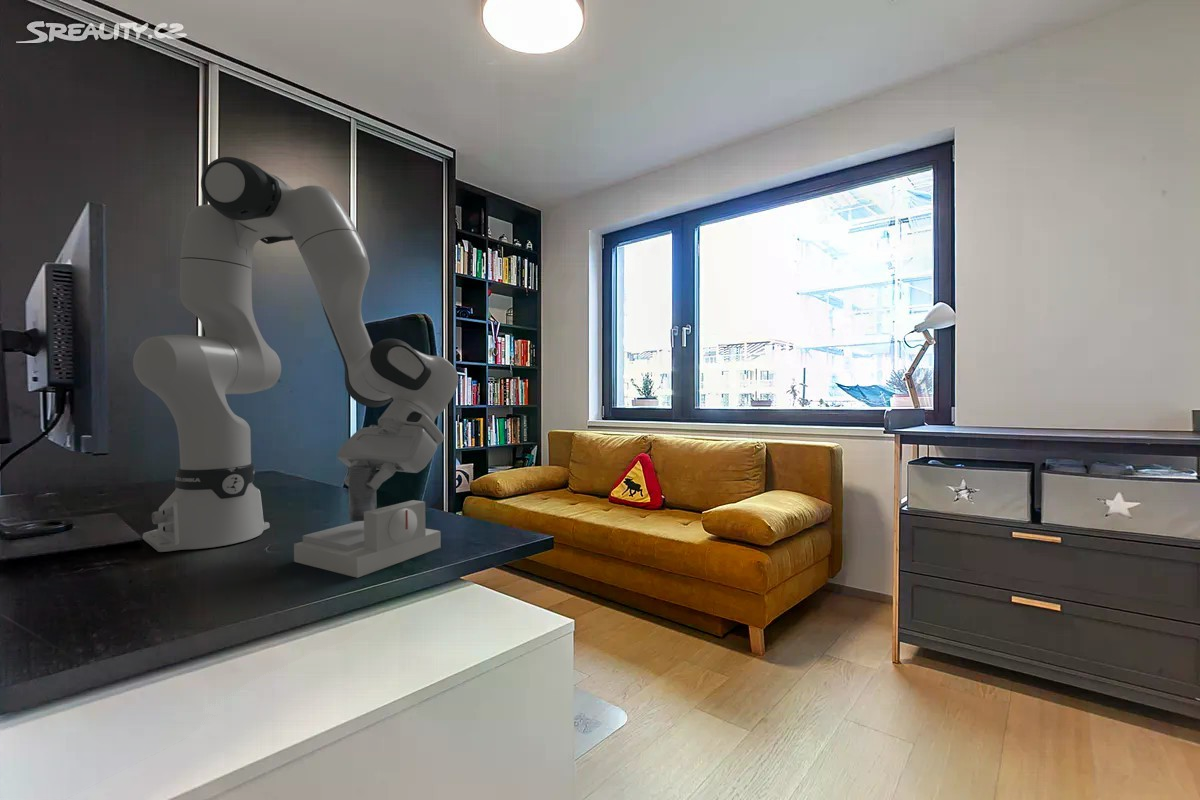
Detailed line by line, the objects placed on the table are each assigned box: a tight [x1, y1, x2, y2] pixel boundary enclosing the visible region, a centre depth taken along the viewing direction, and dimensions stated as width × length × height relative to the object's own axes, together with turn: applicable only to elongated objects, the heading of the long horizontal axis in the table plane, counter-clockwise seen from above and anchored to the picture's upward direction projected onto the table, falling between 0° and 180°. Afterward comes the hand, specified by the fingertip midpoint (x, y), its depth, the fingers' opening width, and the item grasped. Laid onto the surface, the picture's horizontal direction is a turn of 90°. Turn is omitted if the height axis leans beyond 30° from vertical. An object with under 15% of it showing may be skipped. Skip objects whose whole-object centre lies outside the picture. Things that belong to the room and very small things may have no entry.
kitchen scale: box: [293, 499, 442, 578], centre depth 90 cm, size 16×17×9 cm
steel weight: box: [347, 465, 378, 522], centre depth 91 cm, size 4×4×9 cm
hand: (359, 486), depth 90 cm, fingers closed on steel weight, 4 cm apart
